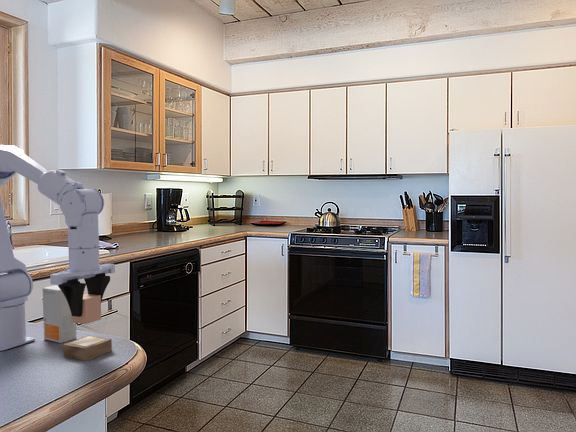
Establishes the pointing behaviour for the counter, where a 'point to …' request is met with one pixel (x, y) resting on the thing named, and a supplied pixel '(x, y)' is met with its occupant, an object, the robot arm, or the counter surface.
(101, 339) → the walnut foundation
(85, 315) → the terracotta block
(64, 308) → the skincare box
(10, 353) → the counter surface
